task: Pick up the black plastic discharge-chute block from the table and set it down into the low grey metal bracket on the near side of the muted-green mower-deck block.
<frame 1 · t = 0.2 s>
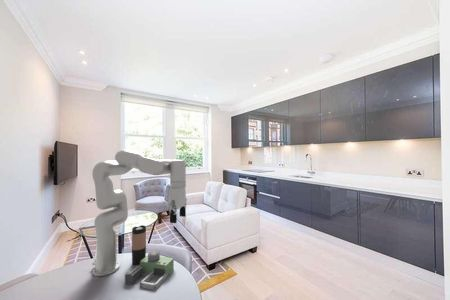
hand: (178, 219, 92), 31 cm above the table, fingers open, 9 cm apart
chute: (134, 279, 94), on the table
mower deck: (153, 278, 95), on the table
travel mug: (138, 262, 110), on the table
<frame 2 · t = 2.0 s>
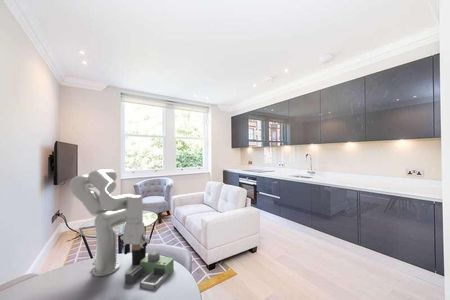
hand: (135, 254, 95), 13 cm above the table, fingers open, 9 cm apart
nothing on the table moved.
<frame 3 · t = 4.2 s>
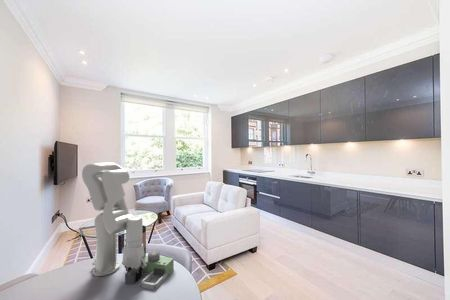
hand: (134, 278, 94), 0 cm above the table, fingers closed on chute, 4 cm apart
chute: (134, 279, 94), on the table, touching gripper
everything else where it was.
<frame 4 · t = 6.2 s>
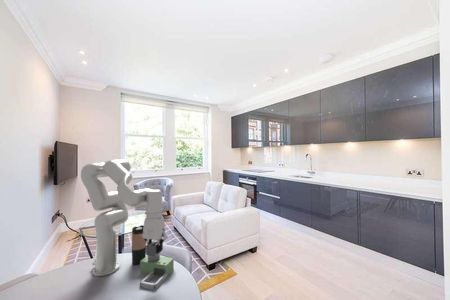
hand: (154, 251, 93), 15 cm above the table, fingers closed on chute, 4 cm apart
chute: (154, 252, 93), point 14 cm above the table, touching gripper
everything else where it was.
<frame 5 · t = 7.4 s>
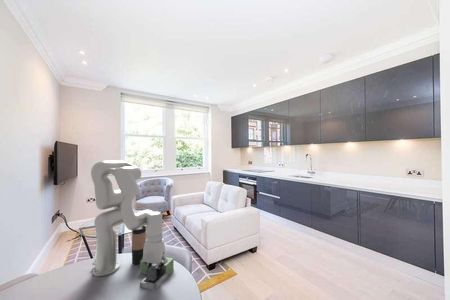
hand: (154, 274, 93), 3 cm above the table, fingers closed on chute, 4 cm apart
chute: (154, 275, 93), point 3 cm above the table, touching gripper
everything else where it was.
when the fingers open (2 cm above the table, at t = 8.2 s): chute drops 2 cm, resting in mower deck.
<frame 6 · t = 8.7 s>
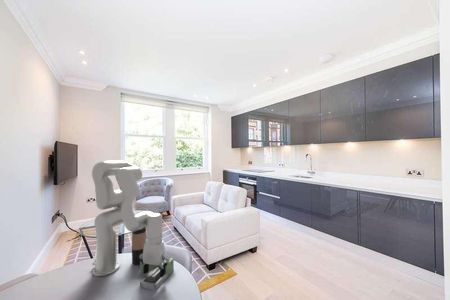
hand: (154, 274, 93), 3 cm above the table, fingers open, 9 cm apart
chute: (154, 281, 93), resting in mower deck
everything else where it was.
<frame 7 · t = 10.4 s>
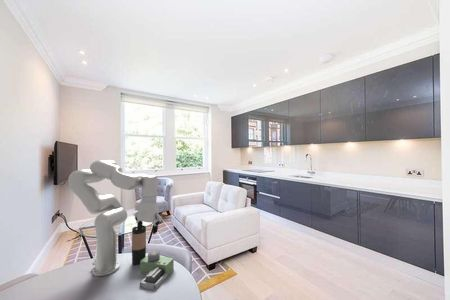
hand: (147, 231, 99), 23 cm above the table, fingers open, 9 cm apart
nothing on the table moved.
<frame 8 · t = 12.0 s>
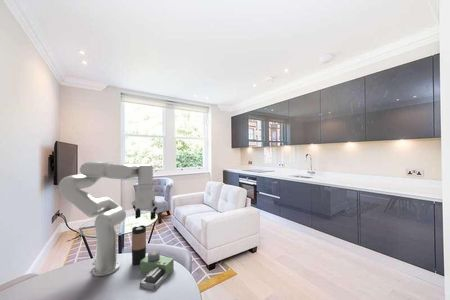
hand: (145, 218, 102), 28 cm above the table, fingers open, 9 cm apart
nothing on the table moved.
at the end: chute 0.1 cm from the target spot on the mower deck, point 0.0 cm above the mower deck's base; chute tilted 0°; the gripper is holding nothing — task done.
